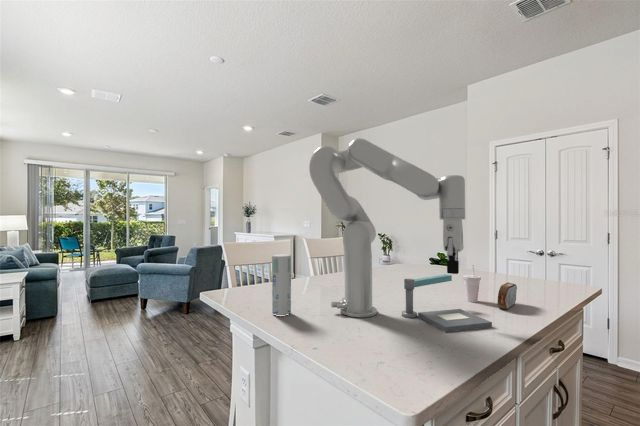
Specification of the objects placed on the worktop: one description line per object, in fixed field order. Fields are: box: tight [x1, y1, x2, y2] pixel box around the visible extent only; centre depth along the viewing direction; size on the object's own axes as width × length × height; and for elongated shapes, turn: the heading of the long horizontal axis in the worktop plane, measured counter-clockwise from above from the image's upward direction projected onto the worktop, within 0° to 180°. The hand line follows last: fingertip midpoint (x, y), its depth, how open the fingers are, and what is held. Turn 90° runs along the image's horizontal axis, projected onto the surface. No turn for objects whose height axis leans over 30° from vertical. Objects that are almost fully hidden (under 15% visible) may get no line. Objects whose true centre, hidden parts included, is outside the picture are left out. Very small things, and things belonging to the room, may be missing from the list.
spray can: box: [271, 253, 292, 315], centre depth 107 cm, size 6×6×20 cm
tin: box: [497, 282, 518, 310], centre depth 114 cm, size 15×3×8 cm, turn 134°
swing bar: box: [403, 273, 453, 291], centre depth 109 cm, size 23×3×3 cm, turn 122°
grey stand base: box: [401, 289, 493, 333], centre depth 100 cm, size 20×18×9 cm
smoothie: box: [462, 264, 482, 303], centre depth 122 cm, size 6×6×14 cm
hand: (452, 273), depth 98 cm, fingers closed
